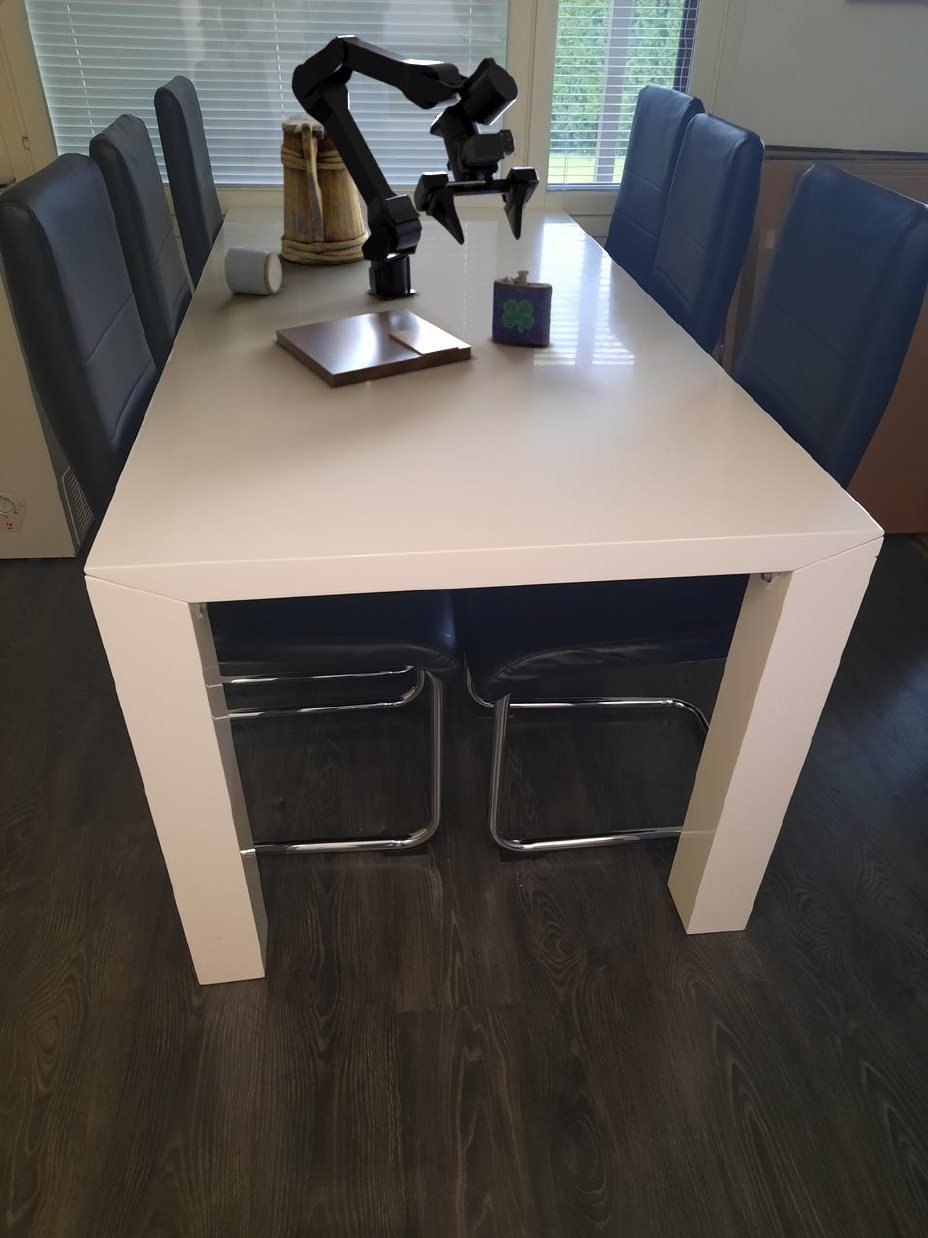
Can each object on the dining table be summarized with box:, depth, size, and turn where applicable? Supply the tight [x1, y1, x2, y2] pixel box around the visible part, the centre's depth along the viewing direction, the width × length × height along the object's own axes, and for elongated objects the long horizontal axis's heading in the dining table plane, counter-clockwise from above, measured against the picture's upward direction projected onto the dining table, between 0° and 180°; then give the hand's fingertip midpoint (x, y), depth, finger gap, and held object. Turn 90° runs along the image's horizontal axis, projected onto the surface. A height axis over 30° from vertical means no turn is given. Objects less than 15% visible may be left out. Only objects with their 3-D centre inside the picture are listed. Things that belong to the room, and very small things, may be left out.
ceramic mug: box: [224, 245, 283, 296], centre depth 153 cm, size 11×8×8 cm
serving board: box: [275, 307, 472, 388], centre depth 129 cm, size 22×22×2 cm
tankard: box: [280, 112, 370, 266], centre depth 167 cm, size 18×24×25 cm
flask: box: [491, 269, 554, 348], centre depth 129 cm, size 9×3×11 cm, turn 68°
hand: (490, 240), depth 129 cm, fingers open, 9 cm apart
